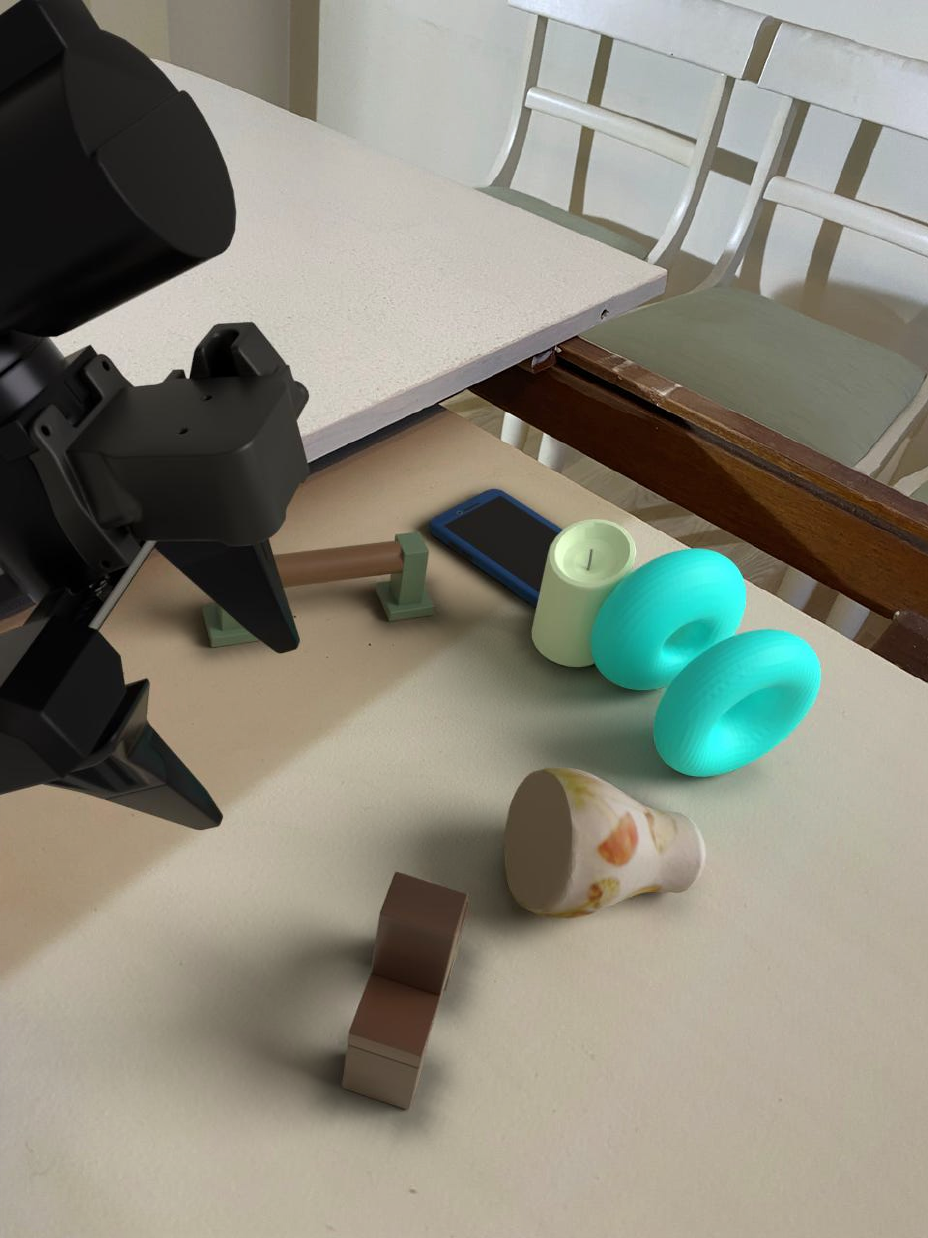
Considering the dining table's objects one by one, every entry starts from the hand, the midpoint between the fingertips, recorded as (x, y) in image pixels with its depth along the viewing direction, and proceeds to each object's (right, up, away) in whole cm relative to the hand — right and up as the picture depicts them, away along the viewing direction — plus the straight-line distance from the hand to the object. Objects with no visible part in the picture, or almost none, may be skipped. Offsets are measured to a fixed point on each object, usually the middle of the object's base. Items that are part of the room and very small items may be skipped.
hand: (254, 729), depth 39 cm
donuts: (+21, -2, +23) cm, 31 cm away
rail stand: (-1, +4, +25) cm, 25 cm away
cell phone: (+13, +8, +32) cm, 35 cm away
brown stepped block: (+5, -14, +6) cm, 16 cm away
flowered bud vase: (+15, -9, +14) cm, 22 cm away
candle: (+15, +3, +26) cm, 30 cm away
